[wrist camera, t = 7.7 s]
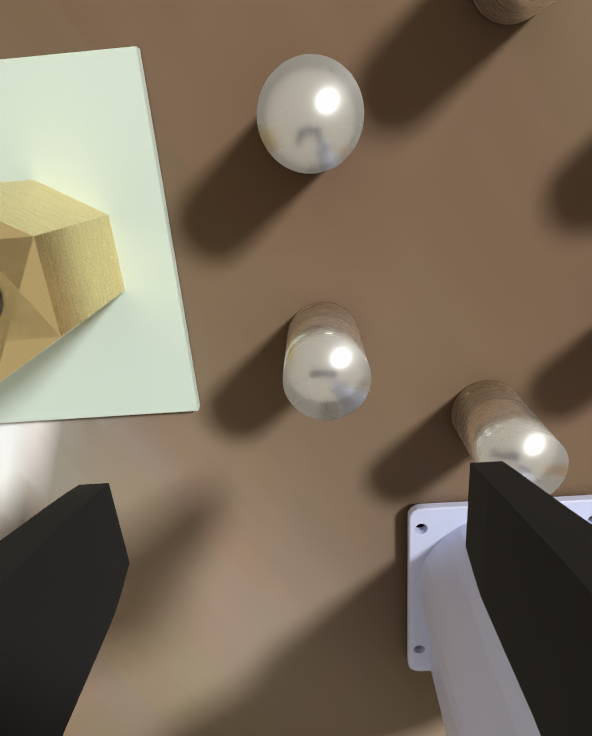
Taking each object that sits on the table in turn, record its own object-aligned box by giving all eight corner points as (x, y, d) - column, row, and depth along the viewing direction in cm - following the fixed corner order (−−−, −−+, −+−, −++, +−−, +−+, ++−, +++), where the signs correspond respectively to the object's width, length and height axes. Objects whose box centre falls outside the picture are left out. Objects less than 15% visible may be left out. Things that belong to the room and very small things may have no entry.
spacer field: (675, 429, 20) (759, 491, 16) (297, 451, 21) (295, 515, 17) (800, -118, 14) (984, -221, 10) (251, -59, 14) (231, -134, 11)
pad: (199, 405, 20) (197, 410, 20) (1, 418, 20) (-5, 423, 20) (140, 49, 15) (135, 46, 15) (-115, 74, 16) (-125, 72, 15)
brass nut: (132, 324, 18) (72, 382, 14) (13, 334, 18) (-87, 393, 14) (100, 173, 16) (16, 179, 12) (-33, 185, 17) (-167, 196, 12)
